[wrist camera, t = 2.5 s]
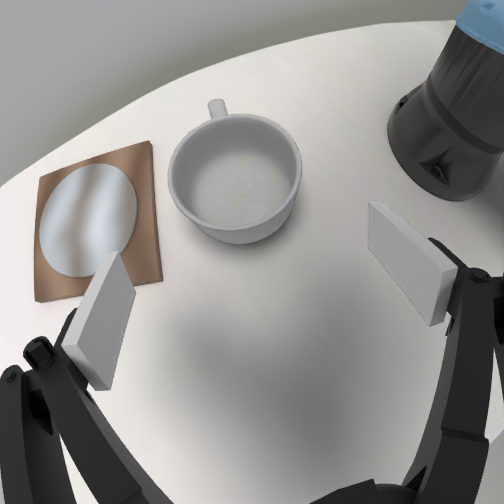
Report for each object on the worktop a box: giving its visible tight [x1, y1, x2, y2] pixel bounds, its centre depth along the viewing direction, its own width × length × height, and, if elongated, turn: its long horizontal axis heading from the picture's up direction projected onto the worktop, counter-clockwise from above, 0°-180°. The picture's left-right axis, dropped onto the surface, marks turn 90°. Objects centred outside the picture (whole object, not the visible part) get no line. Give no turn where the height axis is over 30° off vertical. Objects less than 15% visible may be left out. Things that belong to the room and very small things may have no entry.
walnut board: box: [34, 141, 163, 302], centre depth 30 cm, size 16×16×2 cm
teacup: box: [168, 99, 302, 244], centre depth 28 cm, size 14×11×8 cm
